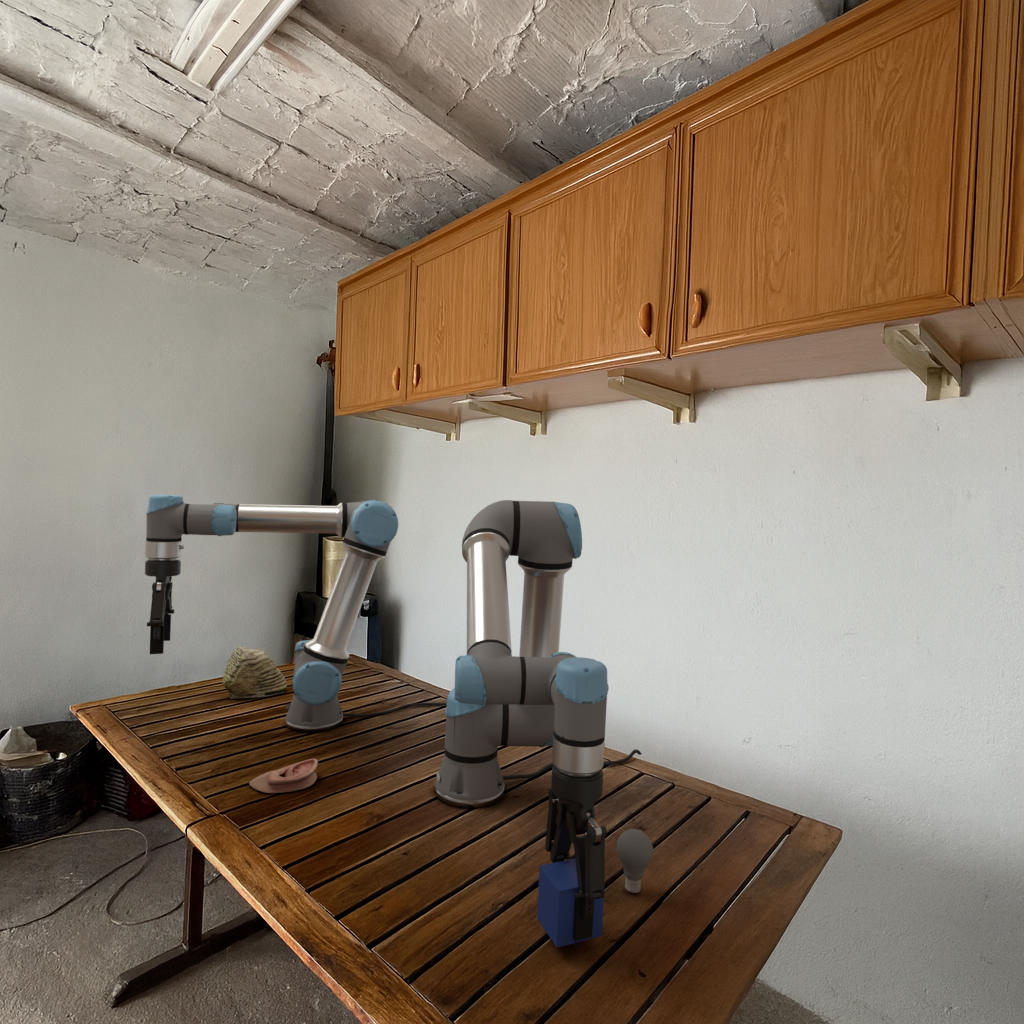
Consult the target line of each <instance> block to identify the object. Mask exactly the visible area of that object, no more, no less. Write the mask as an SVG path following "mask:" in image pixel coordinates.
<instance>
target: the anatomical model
mask: <svg viewBox="0 0 1024 1024" xmlns="http://www.w3.org/2000/svg"><path fill="white" fill-rule="evenodd" d="M318 764H319V761H318V759H317V758H309V759H305V760H302V761H299V762H296V763H293V764H290V765H289V764H288V765H287V766H284V767H281V768H279V769H274V770H271V771H268V772H265V773H263V774H260V775H258V776H256V777H254V778H252V779H251V780H250V781H249V783H248V784H249V785H248V786H250V787H251V788H253V789H254V790H256V791H258V792H261V793H264V794H279V793H289V792H295V791H298V790H303V789H306V788H309V787H311V786H312V785H313V784H315V782H316V781H317V778H318V775H317V773H316V770H317V768H318Z"/></svg>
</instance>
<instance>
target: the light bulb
mask: <svg viewBox="0 0 1024 1024" xmlns="http://www.w3.org/2000/svg"><path fill="white" fill-rule="evenodd" d="M615 849H616V854H617V857H618V859H619V861H620V863H621V865H622V867H623V873H624V874H623V875H624V876H625V878H624V888H625V890H627V891H628V892H630V893H634V894H635V893H639V892H640V891H641V889H642V887H641V886H642V879H643V877H644V875H645V871H646V868H647V867H648V866H649V864H650V863H651V861H652V859H653V855H654V847H653V843H652V841H651V838H649V836H648V835H647V834H646V833H645V832H643V831H642V830H641V829H636V828H629V829H627V830H625V831H623V832H622V833H621V834H620V835H619V837H618V839H617V841H616V847H615Z"/></svg>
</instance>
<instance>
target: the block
mask: <svg viewBox="0 0 1024 1024" xmlns="http://www.w3.org/2000/svg"><path fill="white" fill-rule="evenodd" d="M538 870H539V871H538V893H537V894H538V895H537V911H536V912H537V913H536V914H537V915H536V919H537V920H538V922H539V923H540V925H541V927H543V929H544V931H545V933H546V934H547V935H548V937H549V938H550V940H551V941H552V943H553V944H554V945H555V947H556V948H561V947H564V946H569V945H572V944H576V943H580V942H583V941H588V940H592V939H596V938H601V937H603V925H604V924H603V923H604V921H603V920H604V904H605V903H604V898H605V897H604V898H600V899H595V900H594V916H593V929H592V937H590V938H586V939H582V940H578V941H575V940H574V939H573V927H574V905H575V896H574V893H576V892H579V891H578V881H577V872H576V862H575V858H571V859H567V860H564V861H560V862H555V863H553V862H549V863H546V864H540V865H539V867H538Z"/></svg>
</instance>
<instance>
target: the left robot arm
mask: <svg viewBox="0 0 1024 1024" xmlns="http://www.w3.org/2000/svg"><path fill="white" fill-rule="evenodd" d="M145 515H146V531H145V532H146V533H145V534H146V535H145V536H146V538H145V547H144V548H145V549H144V557H145V558H146V560H145V561H144V574H145V576H147V577H155V581H154V582H153V583H152V584H151V591H152V592H151V605H150V615H149V621H148V622H146V627H150V630H149V631H150V632H149V633H150V634H149V655H163V654H164V646H165V642H170V641H171V627H172V614H173V615H174V614H175V608H174V609H173V602H172V600H173V598H172V596H173V595H172V593H173V581H172V580H173V577H177V576H179V575H180V574H181V571H182V569H181V567H182V561H181V559H179V558H181V556H182V550H184V549H185V546H184V545H183V544H182V539H183V538H182V537H183V535H187V536H188V535H191V536H193V535H194V536H195V535H196V536H217V537H224V536H233V535H234V534H235V533H270V534H271V533H280V534H281V533H282V534H289V533H290V534H336V535H337V536H338V537H339V538H343V540H342V542H341V543H342V545H343V548H344V550H345V551H344V554H343V558H342V560H341V562H340V566H339V567H338V571H337V573H336V576H335V579H334V581H333V584H332V587H331V589H330V593H329V595H328V598H327V601H326V604H325V606H324V608H323V611H322V614H321V617H320V619H319V623H318V625H317V627H316V631H315V633H314V636H313V638H312V639H306V640H305V639H304V640H300V641H298V642H296V643H295V648H294V649H295V650H293V651H294V669H293V676H292V680H291V682H292V683H291V685H292V686H291V687H292V690H293V695H292V696H293V697H292V699H291V702H289V703H286V704H285V710H287V709H288V711H287V713H286V715H285V726H286V728H287V729H289V730H291V731H294V732H295V731H296V732H301V733H316V732H325V731H329V730H332V729H335V728H337V727H339V726H340V725H342V723H343V722H344V717H356V718H361V717H362V718H363V717H372V716H380V715H386V714H389V713H394V712H396V711H400V710H402V709H404V708H410V707H416V706H417V707H419V706H443V707H444V706H445V707H447V702H416V703H408V704H404V705H400V706H397V707H395V708H392V709H388V710H383V711H377V712H369V713H347V712H346V713H344V712H343V709H342V706H341V702H340V699H339V695H338V694H339V693H340V690H341V688H342V685H343V675H344V672H345V669H346V667H347V663H348V661H349V659H350V654H349V652H348V651H347V646H348V644H349V642H350V641H349V640H350V639H351V635H352V632H353V630H354V627H355V624H356V622H357V619H358V616H359V613H360V611H361V609H362V606H363V602H364V600H365V597H366V594H367V591H368V588H369V585H370V584H371V580H372V577H373V576H374V575H373V574H374V572H375V569H376V566H377V563H378V562H379V561H381V560H383V559H385V558H386V556H387V553H388V550H389V547H390V545H391V543H392V541H393V540H394V539H395V537H396V535H397V534H398V530H399V517H398V515H397V513H396V511H395V510H394V508H393V507H392V506H391V505H389V504H388V503H387V502H385V501H383V500H378V499H367V500H362V501H356V502H355V501H354V502H353V501H352V502H340V503H338V504H337V505H303V504H301V505H300V504H299V505H298V504H297V505H296V504H258V503H257V504H256V503H255V504H251V503H250V504H249V503H246V504H245V503H223V502H215V503H212V504H210V503H209V504H208V503H207V504H204V503H203V504H202V503H201V504H200V503H197V504H195V503H186V502H185V501H184V498H183V496H182V495H179V494H151V495H150V496H149V497H148V499H147V508H146V513H145Z"/></svg>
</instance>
